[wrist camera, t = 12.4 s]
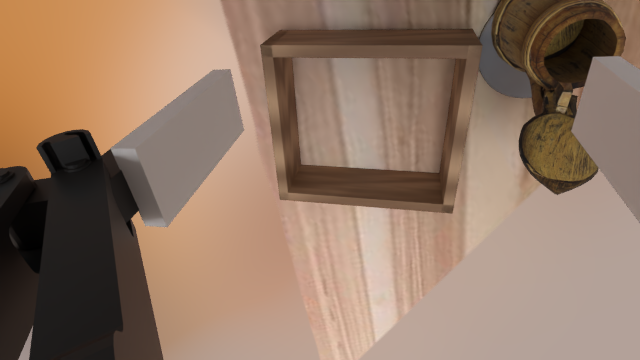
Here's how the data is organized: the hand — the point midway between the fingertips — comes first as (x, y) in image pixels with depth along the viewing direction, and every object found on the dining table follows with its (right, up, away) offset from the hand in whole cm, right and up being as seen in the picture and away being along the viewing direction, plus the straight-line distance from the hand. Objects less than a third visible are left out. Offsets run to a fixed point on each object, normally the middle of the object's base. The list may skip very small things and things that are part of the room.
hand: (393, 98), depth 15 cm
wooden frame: (+3, +5, +33) cm, 34 cm away
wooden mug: (+19, +11, +25) cm, 33 cm away
